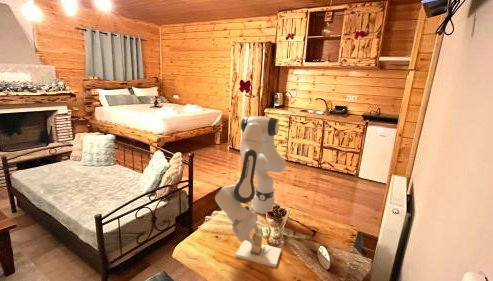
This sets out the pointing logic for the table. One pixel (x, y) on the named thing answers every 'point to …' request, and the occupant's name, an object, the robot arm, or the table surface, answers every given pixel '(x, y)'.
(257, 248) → the block
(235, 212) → the robot arm
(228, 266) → the table surface
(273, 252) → the board
